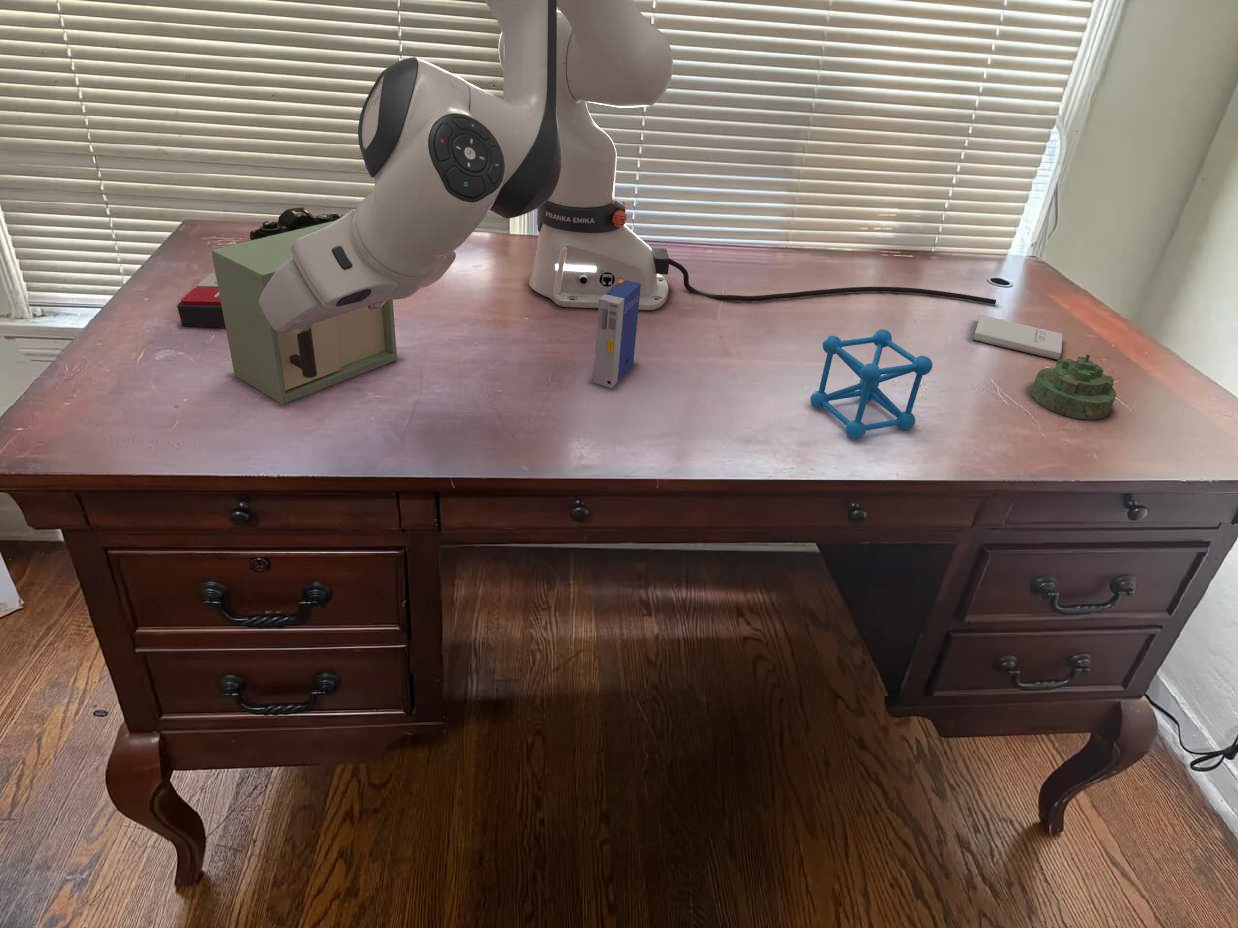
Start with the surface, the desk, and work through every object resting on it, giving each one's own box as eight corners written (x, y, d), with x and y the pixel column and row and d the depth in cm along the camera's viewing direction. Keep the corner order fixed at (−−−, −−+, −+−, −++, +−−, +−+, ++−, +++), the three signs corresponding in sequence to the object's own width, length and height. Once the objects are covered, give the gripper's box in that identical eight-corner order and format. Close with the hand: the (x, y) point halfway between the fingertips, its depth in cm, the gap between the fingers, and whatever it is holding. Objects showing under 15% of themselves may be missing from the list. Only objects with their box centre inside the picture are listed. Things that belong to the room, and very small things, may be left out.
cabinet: (397, 360, 113) (388, 241, 104) (282, 404, 101) (262, 275, 93) (349, 335, 118) (337, 220, 109) (234, 375, 106) (210, 249, 98)
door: (361, 380, 105) (350, 275, 98) (304, 402, 100) (289, 293, 92) (338, 368, 107) (326, 264, 100) (282, 389, 102) (265, 281, 95)
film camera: (325, 245, 145) (318, 186, 140) (375, 265, 140) (370, 204, 134) (230, 272, 133) (218, 208, 127) (280, 295, 127) (270, 228, 122)
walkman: (614, 360, 118) (621, 276, 111) (633, 364, 117) (641, 280, 111) (591, 383, 112) (597, 296, 105) (611, 388, 111) (618, 301, 104)
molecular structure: (851, 444, 104) (870, 370, 98) (805, 404, 111) (820, 333, 106) (916, 431, 108) (939, 359, 102) (867, 394, 115) (886, 325, 110)
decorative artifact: (1089, 387, 122) (1020, 381, 122) (1109, 342, 119) (1037, 335, 118) (1121, 422, 114) (1047, 416, 114) (1143, 375, 110) (1066, 368, 110)
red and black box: (206, 270, 123) (312, 273, 124) (213, 298, 126) (317, 301, 126) (173, 300, 114) (287, 303, 115) (182, 330, 117) (293, 333, 117)
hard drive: (977, 323, 139) (1059, 341, 135) (972, 341, 133) (1058, 361, 129) (980, 313, 138) (1063, 332, 134) (975, 331, 132) (1062, 351, 128)
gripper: (454, 200, 88) (397, 265, 98) (277, 243, 74) (232, 314, 84) (485, 254, 89) (425, 313, 99) (315, 307, 75) (265, 370, 85)
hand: (335, 314), depth 91 cm, fingers open, 8 cm apart
